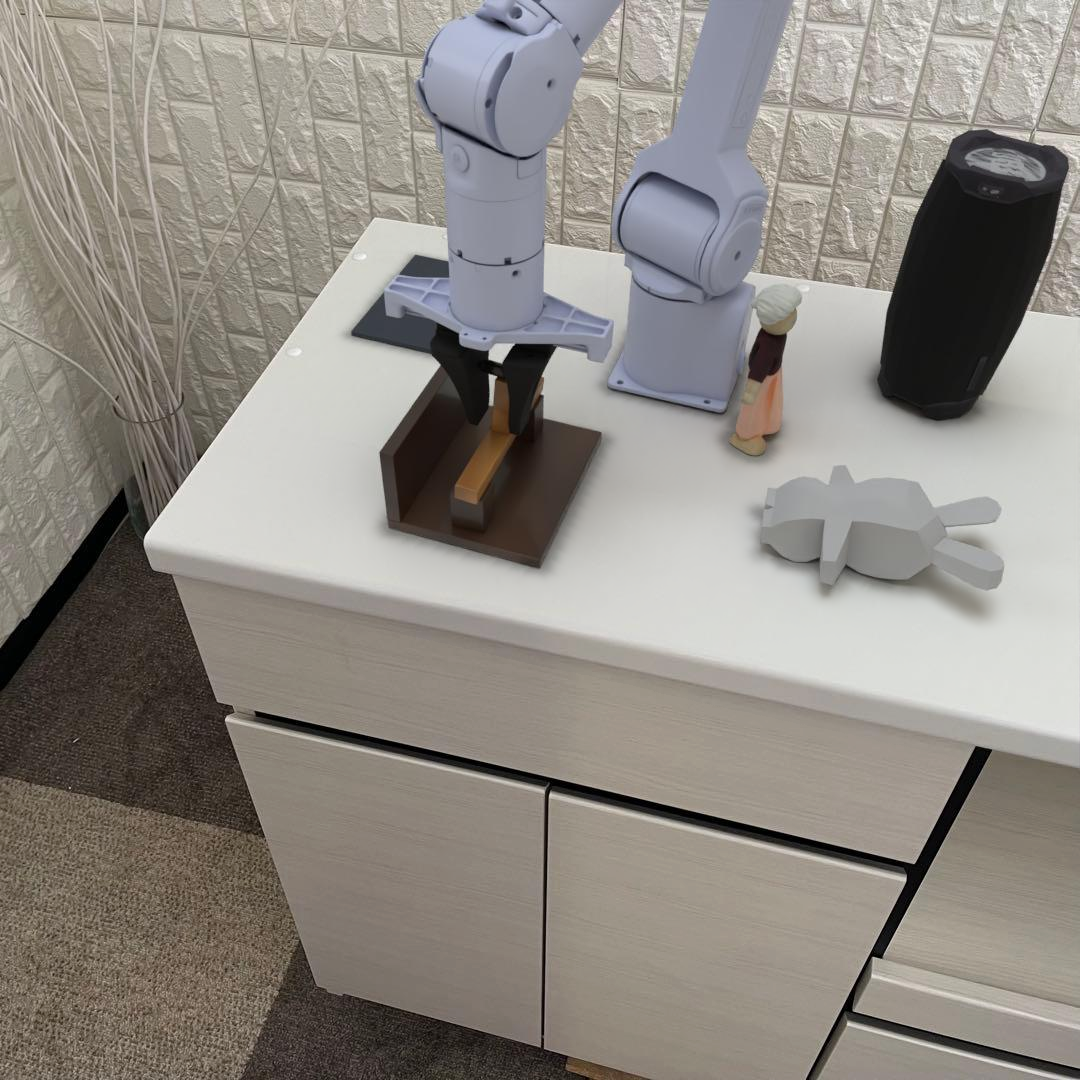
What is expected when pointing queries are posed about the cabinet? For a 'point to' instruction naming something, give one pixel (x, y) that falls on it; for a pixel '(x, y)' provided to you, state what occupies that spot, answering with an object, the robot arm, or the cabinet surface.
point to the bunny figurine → (876, 529)
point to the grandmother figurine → (766, 368)
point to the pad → (409, 327)
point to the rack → (512, 494)
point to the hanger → (490, 439)
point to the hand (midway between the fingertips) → (498, 420)
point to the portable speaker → (969, 270)
